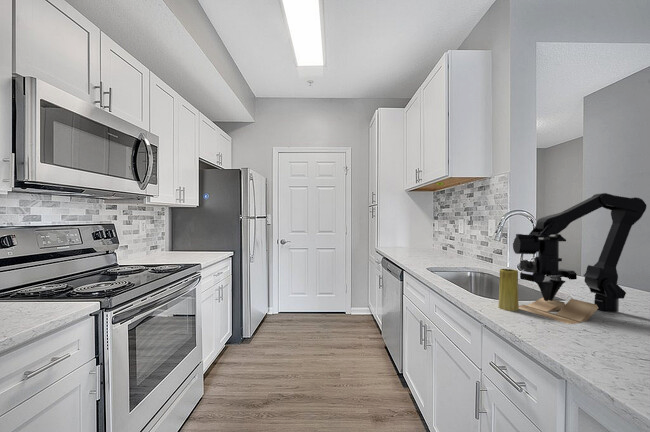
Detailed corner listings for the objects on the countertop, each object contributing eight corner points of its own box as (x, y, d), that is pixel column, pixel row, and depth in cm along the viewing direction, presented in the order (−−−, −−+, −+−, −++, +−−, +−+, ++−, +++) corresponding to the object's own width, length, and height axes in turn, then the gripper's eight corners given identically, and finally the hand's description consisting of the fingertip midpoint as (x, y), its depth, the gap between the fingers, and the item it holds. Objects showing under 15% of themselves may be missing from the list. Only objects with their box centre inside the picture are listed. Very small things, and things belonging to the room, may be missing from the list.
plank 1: (544, 300, 116) (543, 297, 116) (565, 306, 109) (564, 302, 109) (527, 309, 114) (526, 305, 114) (547, 315, 107) (546, 311, 107)
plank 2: (573, 301, 106) (571, 298, 106) (598, 308, 99) (596, 304, 99) (557, 317, 104) (555, 314, 104) (582, 325, 97) (580, 321, 97)
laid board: (523, 309, 115) (523, 304, 115) (581, 327, 96) (581, 321, 96) (511, 310, 113) (511, 305, 113) (568, 329, 94) (568, 323, 94)
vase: (520, 316, 106) (521, 271, 106) (499, 314, 108) (499, 270, 108) (516, 311, 112) (517, 269, 112) (496, 309, 114) (496, 268, 114)
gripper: (547, 251, 123) (547, 293, 123) (506, 252, 118) (506, 296, 118) (578, 254, 112) (577, 301, 112) (535, 256, 107) (534, 305, 107)
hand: (548, 300), depth 113 cm, fingers closed
